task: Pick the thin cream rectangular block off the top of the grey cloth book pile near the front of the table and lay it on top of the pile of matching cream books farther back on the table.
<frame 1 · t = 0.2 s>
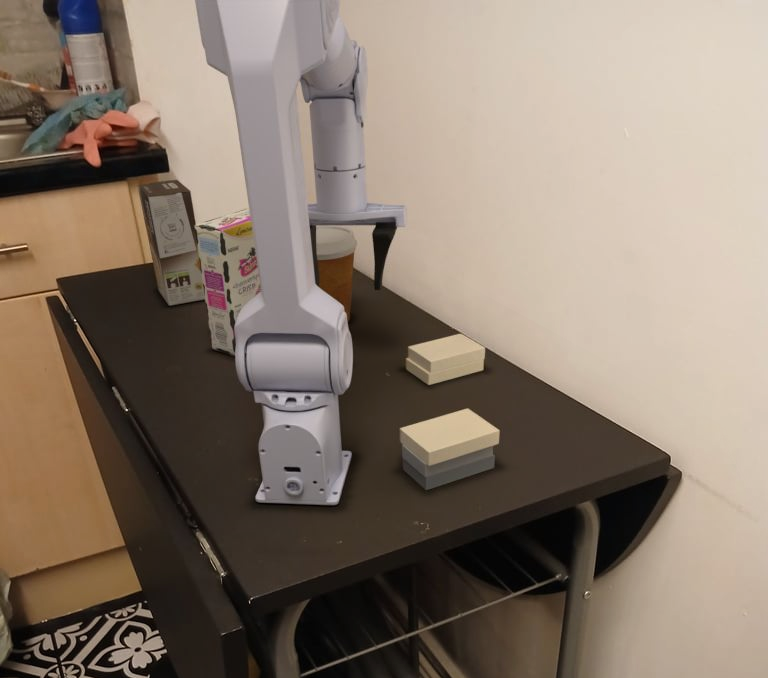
hand: (346, 287, 95), 10 cm above the table, tool pointing down, fingers open, 7 cm apart
cream rectangular block: (449, 442, 77), point 3 cm above the table, touching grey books
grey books: (448, 468, 79), on the table
coffee box: (182, 295, 125), on the table
candy bar box: (253, 341, 108), on the table
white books: (444, 369, 98), on the table
disposable coffee cup: (328, 320, 114), on the table
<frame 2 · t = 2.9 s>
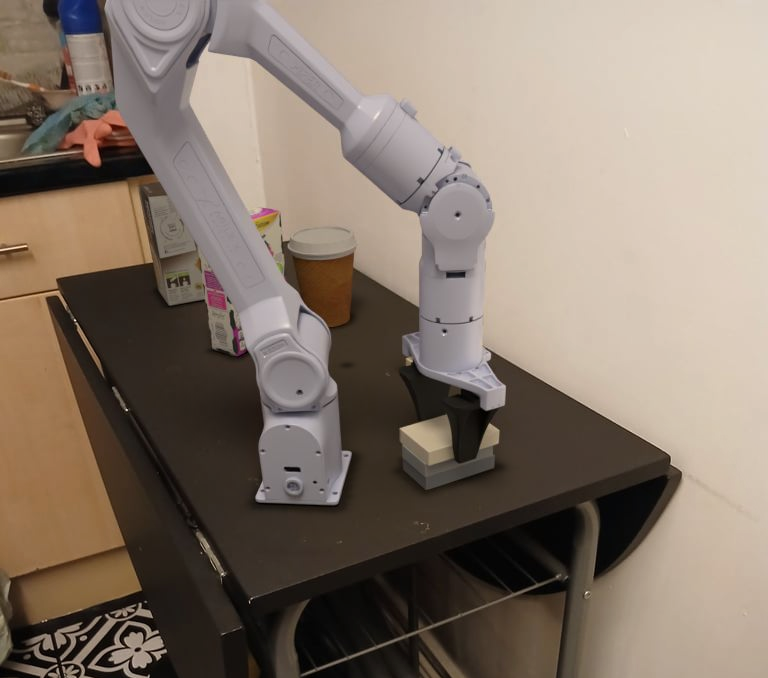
hand: (448, 446, 78), 3 cm above the table, tool pointing down, fingers closed on cream rectangular block, 5 cm apart
cream rectangular block: (448, 442, 77), point 3 cm above the table, touching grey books, gripper
everything else where it was.
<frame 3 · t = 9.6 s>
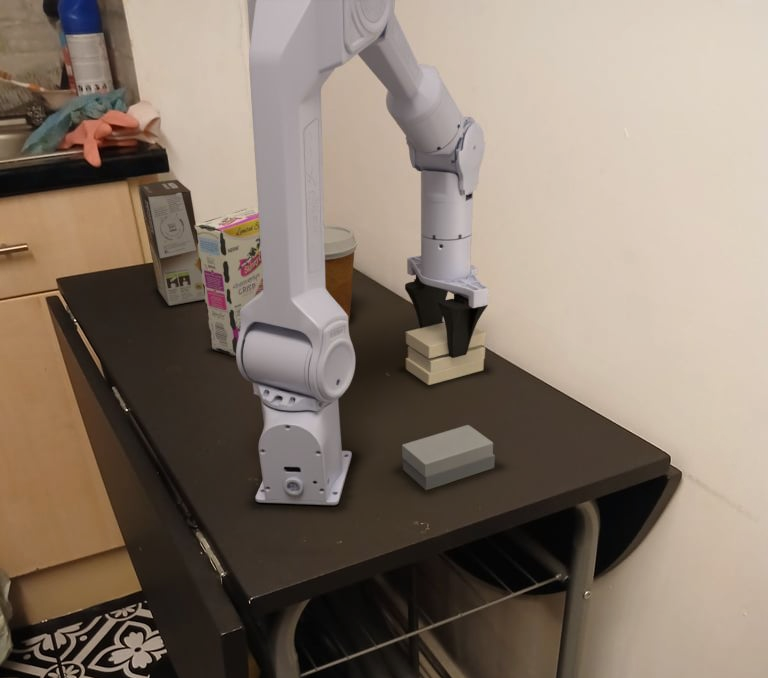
hand: (444, 347, 97), 3 cm above the table, tool pointing down, fingers closed on cream rectangular block, 5 cm apart
cream rectangular block: (445, 343, 96), point 3 cm above the table, touching gripper
everything else where it was.
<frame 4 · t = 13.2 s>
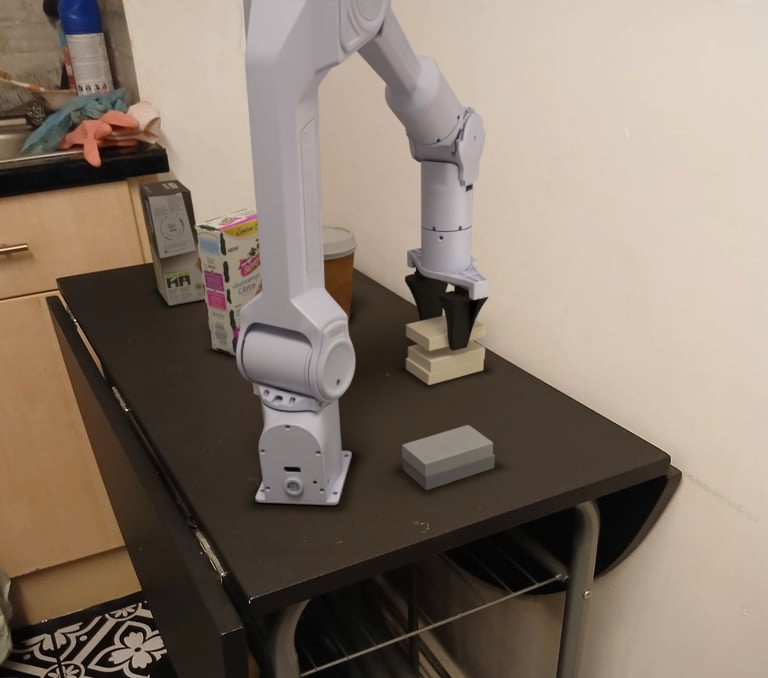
hand: (444, 339, 96), 4 cm above the table, tool pointing down, fingers closed on cream rectangular block, 5 cm apart
cream rectangular block: (445, 336, 96), point 4 cm above the table, touching gripper
everything else where it was.
when the fingers open (3 cm above the table, at t = 16.6 s): cream rectangular block stays where it is, resting on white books.
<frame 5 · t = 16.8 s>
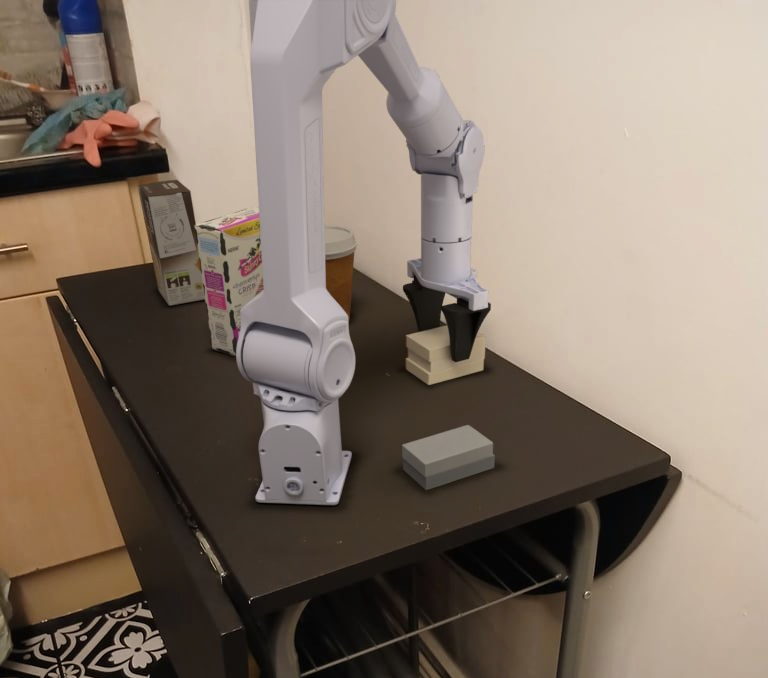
hand: (444, 349, 97), 3 cm above the table, tool pointing down, fingers open, 7 cm apart
cream rectangular block: (445, 347, 97), point 3 cm above the table, touching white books
everything else where it was.
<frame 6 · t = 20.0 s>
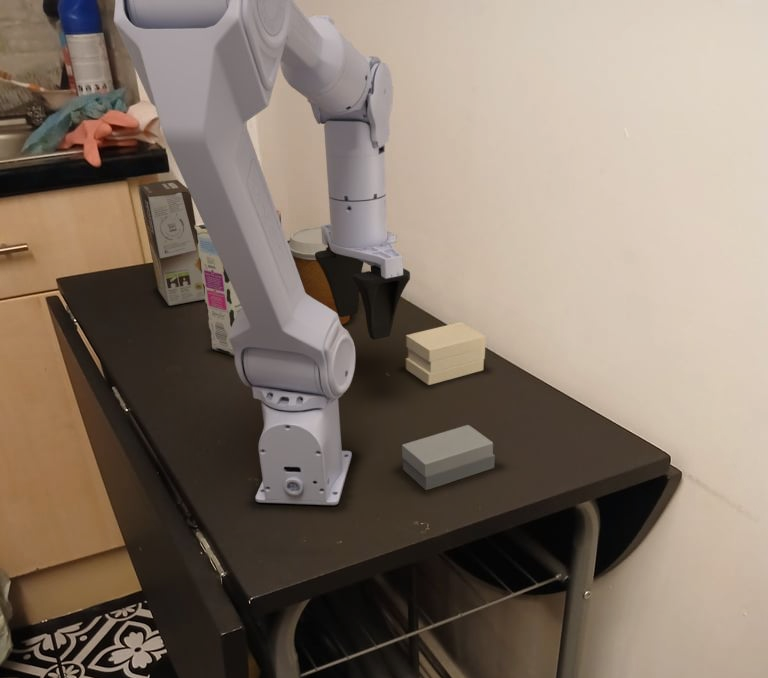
hand: (363, 325, 86), 9 cm above the table, tool pointing down, fingers open, 7 cm apart
nothing on the table moved.
at the end: cream rectangular block 0.1 cm off-centre on the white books, point 3.0 cm above the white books's base; cream rectangular block tilted 0° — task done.
